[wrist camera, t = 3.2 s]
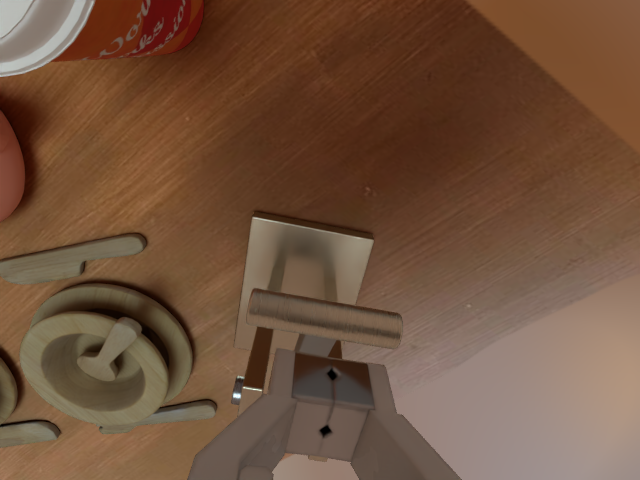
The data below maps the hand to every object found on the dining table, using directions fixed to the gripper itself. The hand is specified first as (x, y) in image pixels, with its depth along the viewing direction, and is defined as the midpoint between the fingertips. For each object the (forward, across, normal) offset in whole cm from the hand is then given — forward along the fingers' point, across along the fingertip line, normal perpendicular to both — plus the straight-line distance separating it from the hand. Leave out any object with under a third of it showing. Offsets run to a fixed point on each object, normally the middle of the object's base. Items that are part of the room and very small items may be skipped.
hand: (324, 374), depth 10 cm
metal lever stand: (+18, 0, +9) cm, 20 cm away
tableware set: (+18, +22, +21) cm, 35 cm away
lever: (+6, 0, +4) cm, 7 cm away
